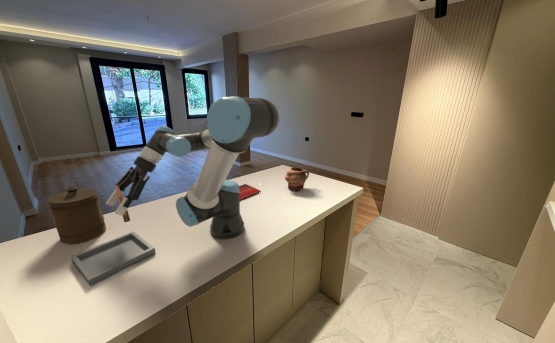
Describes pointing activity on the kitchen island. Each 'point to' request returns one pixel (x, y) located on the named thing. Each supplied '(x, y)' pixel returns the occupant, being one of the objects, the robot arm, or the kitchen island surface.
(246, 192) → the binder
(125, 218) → the ammunition clip
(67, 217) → the wooden container
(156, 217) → the kitchen island surface
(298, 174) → the brown ceramic jug
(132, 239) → the tray
